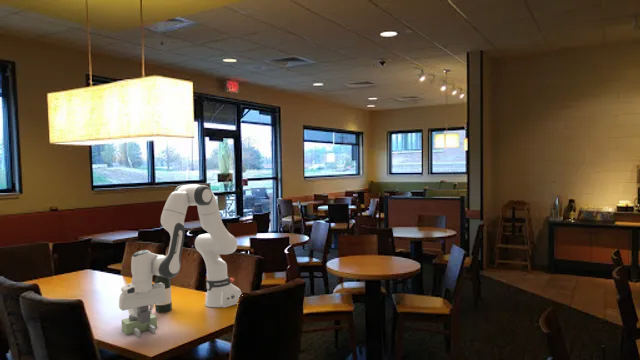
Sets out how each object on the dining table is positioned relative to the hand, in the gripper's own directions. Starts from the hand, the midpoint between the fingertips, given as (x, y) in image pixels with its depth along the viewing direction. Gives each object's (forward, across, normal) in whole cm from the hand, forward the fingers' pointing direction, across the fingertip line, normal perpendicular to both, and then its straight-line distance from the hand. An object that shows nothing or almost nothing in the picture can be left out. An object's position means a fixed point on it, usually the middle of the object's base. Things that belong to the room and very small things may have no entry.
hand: (143, 315), depth 207 cm
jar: (+8, -4, -23) cm, 25 cm away
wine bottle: (+8, -18, -27) cm, 34 cm away
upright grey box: (+3, 0, 0) cm, 3 cm away
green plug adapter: (+8, 0, -5) cm, 10 cm away
